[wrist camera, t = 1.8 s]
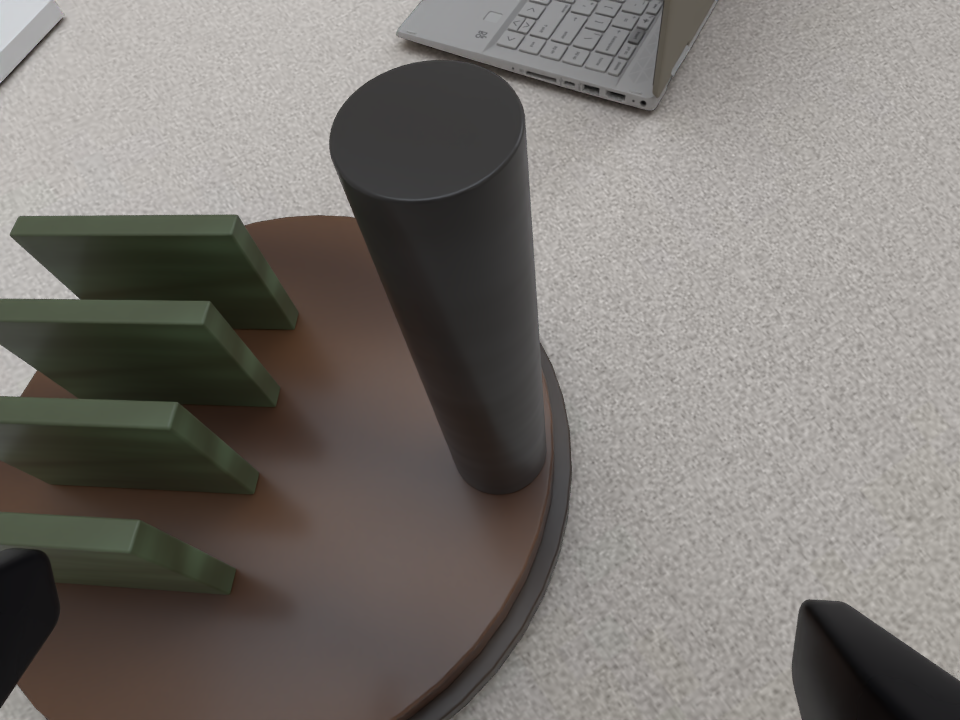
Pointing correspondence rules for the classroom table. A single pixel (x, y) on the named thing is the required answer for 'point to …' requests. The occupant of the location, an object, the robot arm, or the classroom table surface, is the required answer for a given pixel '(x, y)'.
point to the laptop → (569, 40)
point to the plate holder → (289, 429)
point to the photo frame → (23, 29)
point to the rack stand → (531, 594)
